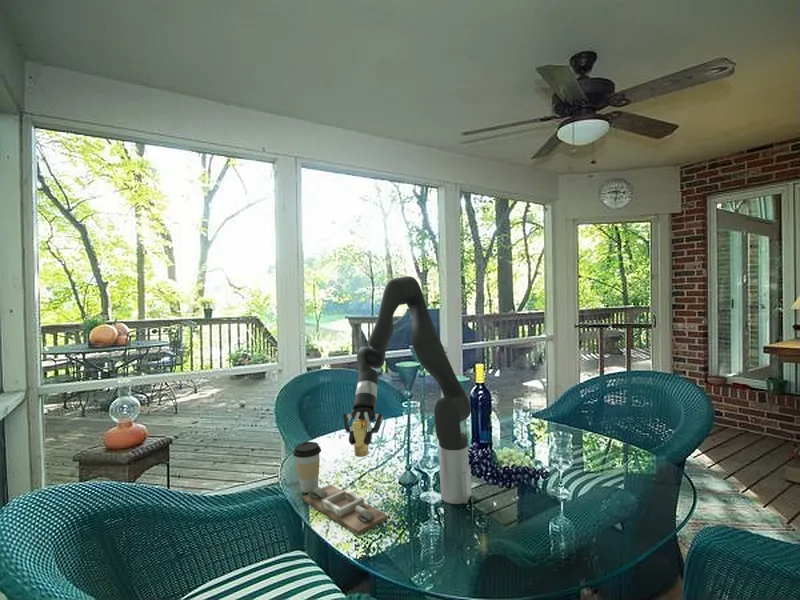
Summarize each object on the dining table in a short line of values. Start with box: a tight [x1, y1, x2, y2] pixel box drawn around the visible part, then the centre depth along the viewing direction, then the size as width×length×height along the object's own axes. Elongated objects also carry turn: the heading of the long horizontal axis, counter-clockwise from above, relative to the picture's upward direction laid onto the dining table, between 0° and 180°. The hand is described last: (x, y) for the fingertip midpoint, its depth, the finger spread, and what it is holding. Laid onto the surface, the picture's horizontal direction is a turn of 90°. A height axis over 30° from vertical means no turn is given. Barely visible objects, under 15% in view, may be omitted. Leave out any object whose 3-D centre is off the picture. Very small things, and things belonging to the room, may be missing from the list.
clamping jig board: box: [302, 484, 388, 536], centre depth 140 cm, size 29×11×4 cm, turn 44°
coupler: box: [352, 419, 370, 458], centre depth 148 cm, size 5×5×11 cm
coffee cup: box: [292, 441, 322, 494], centre depth 154 cm, size 9×9×15 cm
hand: (359, 444), depth 146 cm, fingers closed on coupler, 4 cm apart
